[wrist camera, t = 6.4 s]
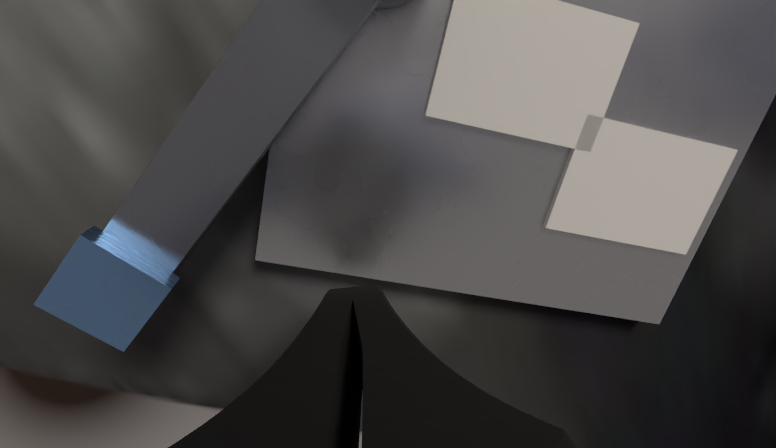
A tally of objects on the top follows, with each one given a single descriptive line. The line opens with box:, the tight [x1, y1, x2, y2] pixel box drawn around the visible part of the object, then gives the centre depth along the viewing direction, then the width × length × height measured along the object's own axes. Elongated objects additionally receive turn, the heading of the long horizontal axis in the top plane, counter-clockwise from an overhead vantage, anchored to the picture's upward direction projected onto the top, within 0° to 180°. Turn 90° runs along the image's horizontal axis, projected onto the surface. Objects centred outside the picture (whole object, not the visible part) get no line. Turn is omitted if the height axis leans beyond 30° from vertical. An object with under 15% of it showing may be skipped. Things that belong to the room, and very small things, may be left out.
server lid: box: [255, 0, 776, 324], centre depth 13 cm, size 14×12×1 cm
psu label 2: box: [543, 114, 738, 255], centre depth 13 cm, size 5×4×1 cm
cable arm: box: [34, 0, 413, 352], centre depth 9 cm, size 12×3×4 cm, turn 140°
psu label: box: [424, 0, 640, 152], centre depth 12 cm, size 5×4×1 cm
